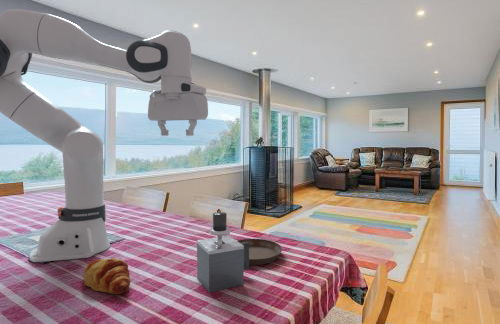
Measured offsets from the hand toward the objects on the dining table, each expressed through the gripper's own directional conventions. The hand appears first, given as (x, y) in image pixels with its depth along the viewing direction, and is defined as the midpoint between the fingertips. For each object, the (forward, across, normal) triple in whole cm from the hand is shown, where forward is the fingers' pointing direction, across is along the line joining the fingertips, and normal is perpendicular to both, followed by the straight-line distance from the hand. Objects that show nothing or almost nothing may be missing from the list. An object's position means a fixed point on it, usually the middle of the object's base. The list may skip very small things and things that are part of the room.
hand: (176, 135), depth 97 cm
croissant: (+38, -4, -22) cm, 44 cm away
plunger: (+35, +21, -9) cm, 42 cm away
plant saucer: (+38, +20, +11) cm, 44 cm away
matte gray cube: (+37, +22, -7) cm, 44 cm away
